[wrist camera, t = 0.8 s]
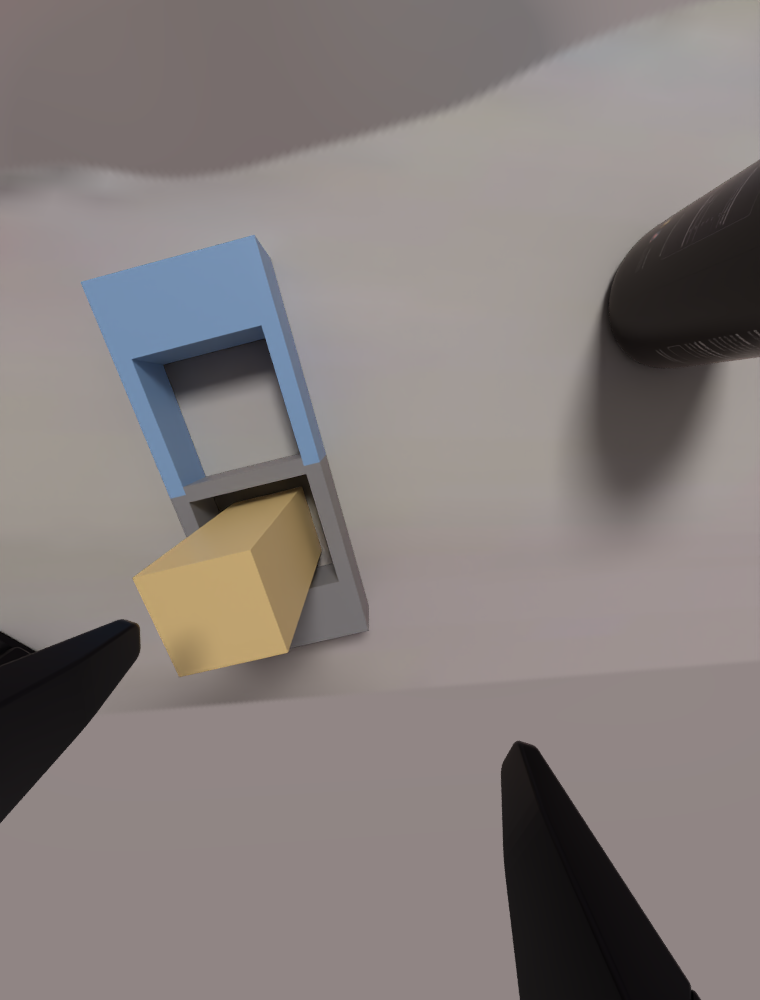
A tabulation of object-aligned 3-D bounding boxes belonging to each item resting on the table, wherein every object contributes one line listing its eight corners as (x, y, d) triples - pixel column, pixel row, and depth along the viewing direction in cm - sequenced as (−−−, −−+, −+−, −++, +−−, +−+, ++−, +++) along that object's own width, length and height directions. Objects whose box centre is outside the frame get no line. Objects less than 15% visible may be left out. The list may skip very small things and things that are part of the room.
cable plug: (321, 550, 21) (288, 652, 12) (257, 565, 21) (179, 677, 13) (302, 486, 20) (250, 550, 11) (234, 502, 20) (132, 578, 12)
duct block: (368, 605, 22) (368, 630, 20) (251, 632, 22) (237, 660, 20) (270, 258, 17) (254, 234, 15) (120, 298, 17) (80, 282, 15)
